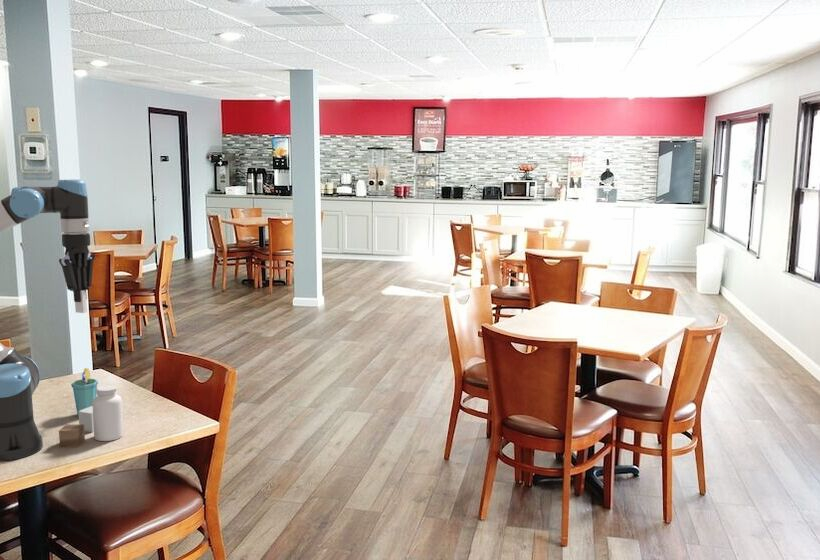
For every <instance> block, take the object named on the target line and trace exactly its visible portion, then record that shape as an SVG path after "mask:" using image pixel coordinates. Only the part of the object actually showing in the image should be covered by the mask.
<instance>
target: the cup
mask: <svg viewBox="0 0 820 560" xmlns="http://www.w3.org/2000/svg"><path fill="white" fill-rule="evenodd" d="M81 377H82V379H77V380H75V381H73V382H72V383H71V384H70V385H71V387H72V390H73V391H72V392H73V397H74V402H75V407H76V414H77V416H78V417H79V414H78V411H80V410H83V409H85V408H88V407H90V406H93V404H92V403H93V400H94V398H95V397H97V388H98V384H99V381H98V380H97V379H94V378H91V372H90V369H89V368H87V367H86V368H84V369H83V372H82V375H81Z"/></svg>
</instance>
